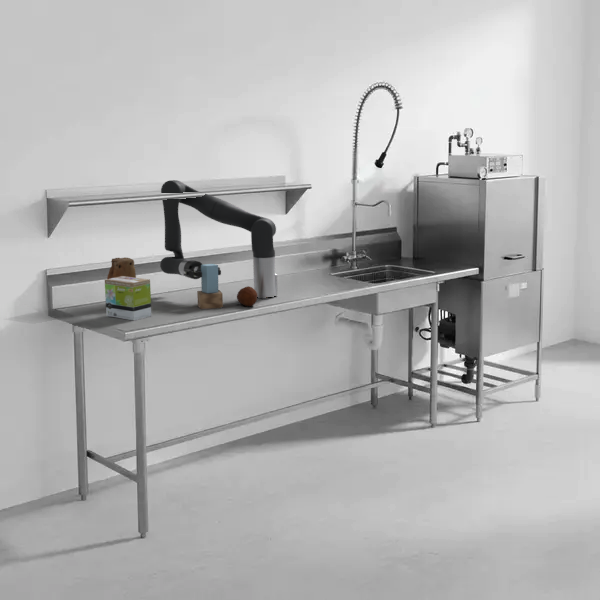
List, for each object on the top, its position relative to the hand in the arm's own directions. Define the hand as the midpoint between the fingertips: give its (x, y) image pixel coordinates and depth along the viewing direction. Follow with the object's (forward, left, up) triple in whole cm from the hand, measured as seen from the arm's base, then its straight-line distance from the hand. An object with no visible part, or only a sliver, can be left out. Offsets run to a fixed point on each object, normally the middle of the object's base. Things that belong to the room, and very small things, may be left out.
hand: (210, 273), depth 356 cm
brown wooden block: (0, -1, -14) cm, 14 cm away
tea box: (+35, -2, -14) cm, 38 cm away
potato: (-13, +7, -14) cm, 20 cm away
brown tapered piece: (+29, -21, -14) cm, 39 cm away
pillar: (0, -1, -8) cm, 8 cm away
